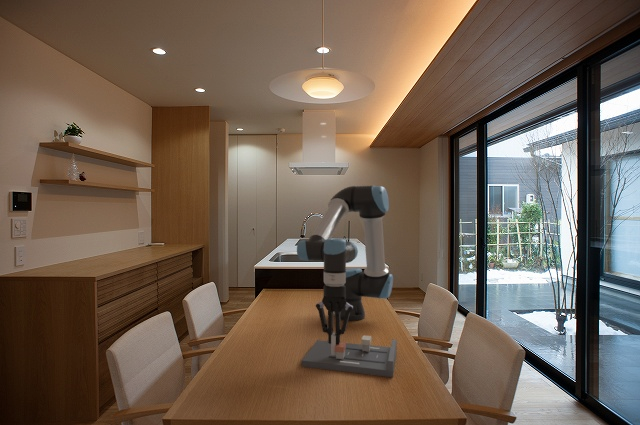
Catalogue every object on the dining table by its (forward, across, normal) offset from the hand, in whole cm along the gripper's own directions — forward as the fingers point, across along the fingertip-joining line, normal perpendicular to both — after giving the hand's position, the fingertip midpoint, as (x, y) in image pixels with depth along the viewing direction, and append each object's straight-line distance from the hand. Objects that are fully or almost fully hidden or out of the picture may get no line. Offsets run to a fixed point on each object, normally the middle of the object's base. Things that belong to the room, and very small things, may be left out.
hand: (334, 353), depth 127 cm
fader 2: (+1, +10, +9) cm, 13 cm away
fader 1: (+1, +2, 0) cm, 3 cm away
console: (+3, +5, +4) cm, 8 cm away
